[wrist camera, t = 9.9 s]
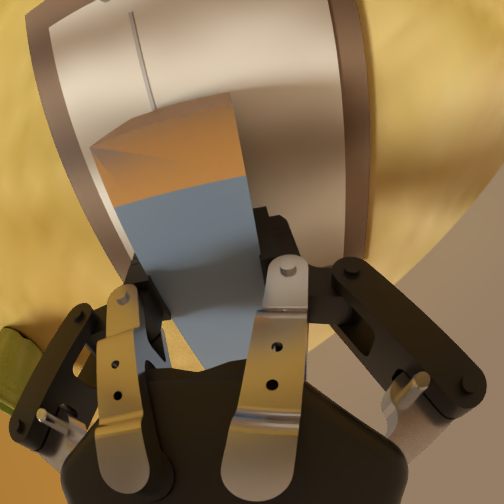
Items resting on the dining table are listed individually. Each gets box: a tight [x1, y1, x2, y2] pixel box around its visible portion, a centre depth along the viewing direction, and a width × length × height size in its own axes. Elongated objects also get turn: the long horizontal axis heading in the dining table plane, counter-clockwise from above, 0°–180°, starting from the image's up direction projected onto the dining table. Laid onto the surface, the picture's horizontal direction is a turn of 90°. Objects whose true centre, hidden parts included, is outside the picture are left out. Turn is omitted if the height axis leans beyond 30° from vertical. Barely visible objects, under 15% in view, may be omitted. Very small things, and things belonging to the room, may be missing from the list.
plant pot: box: [0, 328, 42, 416], centre depth 17 cm, size 9×9×9 cm
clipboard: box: [25, 0, 370, 283], centre depth 10 cm, size 20×15×2 cm
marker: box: [89, 92, 265, 369], centre depth 12 cm, size 14×4×4 cm, turn 9°
